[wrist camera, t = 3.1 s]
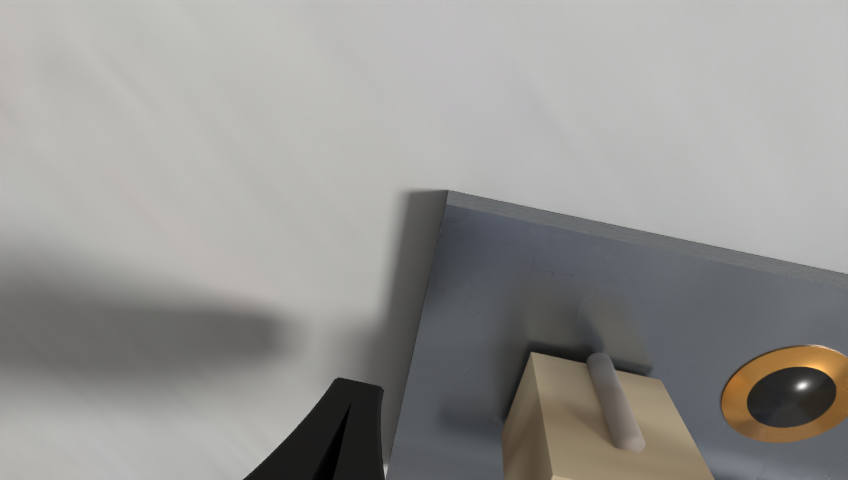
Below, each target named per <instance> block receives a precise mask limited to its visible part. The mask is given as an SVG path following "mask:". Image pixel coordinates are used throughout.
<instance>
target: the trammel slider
mask: <svg viewBox="0 0 848 480" xmlns="http://www.w3.org/2000/svg"><path fill="white" fill-rule="evenodd" d="M501 439H502V455H503V471H504V480H715V479H714V477H713V476H712V474H711V472H710V470H709V468H708V466H707V464H706V463H705V461H704V459H703V457H702V455H701V453H700V452H699V450H698V448H697V446H696V444H695V442H694V440H693V439H692V437H691V435H690V433H689V431H688V429H687V427H686V426H685V424H684V422H683V420H682V418H681V416H680V415H679V413H678V411H677V409H676V407H675V405H674V403H673V402H672V400H671V398H670V396H669V394H668V392H667V390H666V389H665V387H664V385H663V383H662V381H661V380H659V379H654V378H649V377H645V376H640V375H636V374H631V373H626V372H622V371H617V370H615V369H614V366H613V364H612V361H611V359H610V357H609V356H608V355H607V354H605V353H594V354H592V355H590V356H589V357H588V359H587V364H585V363H580V362H576V361H571V360H567V359H562V358H557V357H553V356H548V355H544V354H539V353H534V352H531V354H530V357H529V359H528V362H527V365H526V368H525V370H524V373H523V376H522V379H521V381H520V384H519V387H518V390H517V392H516V395H515V398H514V401H513V403H512V406H511V409H510V411H509V414H508V417H507V420H506V422H505V425H504V428H503V431H502V433H501Z"/></svg>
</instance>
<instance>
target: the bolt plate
mask: <svg viewBox="0 0 848 480" xmlns="http://www.w3.org/2000/svg"><path fill="white" fill-rule="evenodd" d="M531 352H534V353H539V354H544V355H548V356H553V357H557V358H562V359H567V360H571V361H576V362H580V363H585V364H587V359H588V357H589V356H590V355H592V354H594V353H605V354H607V355H608V356H609V357H610V359H611V361H612V364H613V366H614V369H615V370H617V371H622V372H626V373H631V374H636V375H640V376H645V377H649V378H654V379H659V380H661V381H662V383H663V385H664V387H665V389H666V390H667V392H668V394H669V396H670V398H671V400H672V402H673V403H674V405H675V407H676V409H677V411H678V413H679V415H680V416H681V418H682V420H683V422H684V424H685V426H686V427H687V429H688V431H689V433H690V435H691V437H692V439H693V440H694V442H695V444H696V446H697V448H698V450H699V452H700V453H701V455H702V457H703V459H704V461H705V463H706V464H707V466H708V468H709V470H710V472H711V474H712V476H713V477H714V479H715V480H848V275H847V274H843V273H838V272H833V271H828V270H824V269H819V268H814V267H810V266H805V265H800V264H795V263H791V262H786V261H781V260H776V259H772V258H767V257H762V256H757V255H753V254H748V253H743V252H738V251H734V250H729V249H724V248H719V247H715V246H710V245H705V244H701V243H696V242H691V241H686V240H682V239H677V238H672V237H667V236H663V235H658V234H653V233H648V232H644V231H639V230H634V229H629V228H625V227H620V226H615V225H610V224H606V223H601V222H596V221H592V220H587V219H582V218H577V217H573V216H568V215H563V214H558V213H554V212H549V211H544V210H539V209H535V208H530V207H525V206H520V205H516V204H511V203H506V202H501V201H497V200H492V199H487V198H482V197H478V196H473V195H468V194H464V193H459V192H454V191H448V195H447V200H446V204H445V209H444V213H443V218H442V223H441V227H440V232H439V236H438V241H437V245H436V250H435V255H434V259H433V264H432V268H431V273H430V277H429V282H428V287H427V291H426V296H425V300H424V305H423V309H422V314H421V319H420V323H419V328H418V332H417V337H416V341H415V346H414V350H413V355H412V360H411V364H410V369H409V373H408V378H407V382H406V387H405V392H404V396H403V401H402V405H401V410H400V414H399V419H398V424H397V428H396V433H395V437H394V442H393V446H392V451H391V456H390V460H389V465H388V470H387V475H386V480H504V471H503V455H502V439H501V433H502V431H503V428H504V425H505V422H506V420H507V417H508V414H509V411H510V409H511V406H512V403H513V401H514V398H515V395H516V392H517V390H518V387H519V384H520V381H521V379H522V376H523V373H524V370H525V368H526V365H527V362H528V359H529V357H530V354H531Z"/></svg>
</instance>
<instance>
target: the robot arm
mask: <svg viewBox="0 0 848 480" xmlns="http://www.w3.org/2000/svg"><path fill="white" fill-rule="evenodd" d="M383 392H384V390H383V389H382V388H381V387H380V386H376V385H371V384H367V383H362V382H358V381H353V380H349V379H344V378H340V377H339V378H337V379H335V380H334V381H333V383H332V384H331V386H330V387H329V389H328V390H327V391H326V393H325V394H324V395H323V397H322V398H321V399H320V401H319V402H318V403H317V404H316V406H315V407H314V408H313V409H312V410H311V412H310V413H309V414H308V415H307V416H306V417H305V418H304V420H303V421H302V422H301V423H300V424H299V425H298V426H297V427H296V429H295V430H294V431H293V432H292V433H291V434H290V435H289V436H288V437H287V438H286V439H285V440H284V441H283V442H282V443H281V444H280V445H279V446H278V447H277V448H276V449H275V450H274V451H273V452H272V453H271V454H270V455H269V456H268V457H267V458H266V459H265V460H264V461H263V462H262V463H261V464H260V465H259V466H258V467H257V468H256V469H255V470H253V471H252V472H251V473H250V474H249V475H248V476H247V477H246V478H244V479H243V480H385V476H384V469H383V459H382V447H381V428H380V427H381V403H382V397H383Z"/></svg>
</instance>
